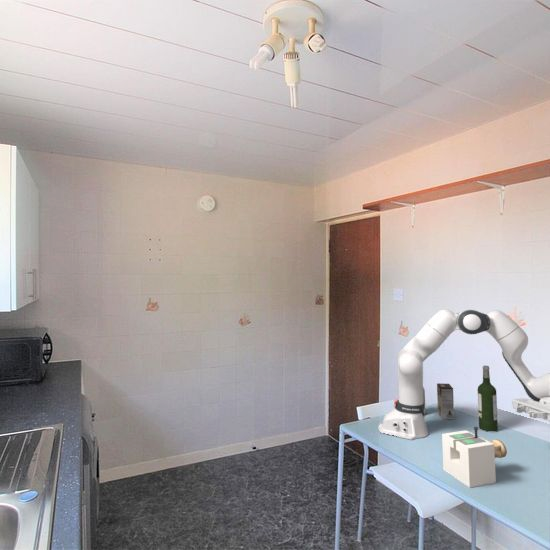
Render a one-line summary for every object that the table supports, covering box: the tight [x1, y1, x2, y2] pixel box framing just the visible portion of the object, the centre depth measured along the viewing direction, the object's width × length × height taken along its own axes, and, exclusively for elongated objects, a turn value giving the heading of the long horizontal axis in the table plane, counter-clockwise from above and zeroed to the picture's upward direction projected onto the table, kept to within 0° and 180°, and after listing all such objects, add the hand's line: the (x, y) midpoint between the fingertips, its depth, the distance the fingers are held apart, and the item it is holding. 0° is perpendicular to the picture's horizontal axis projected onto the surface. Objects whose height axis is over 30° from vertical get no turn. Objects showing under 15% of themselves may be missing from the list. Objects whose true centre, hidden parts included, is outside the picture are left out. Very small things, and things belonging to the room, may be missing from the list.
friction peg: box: [473, 426, 508, 459], centre depth 136 cm, size 12×6×12 cm, turn 105°
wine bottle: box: [477, 365, 499, 432], centre depth 176 cm, size 8×8×30 cm
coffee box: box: [436, 382, 455, 420], centre depth 194 cm, size 9×6×16 cm
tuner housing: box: [441, 430, 497, 489], centre depth 134 cm, size 11×13×14 cm
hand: (524, 412), depth 141 cm, fingers open, 5 cm apart
